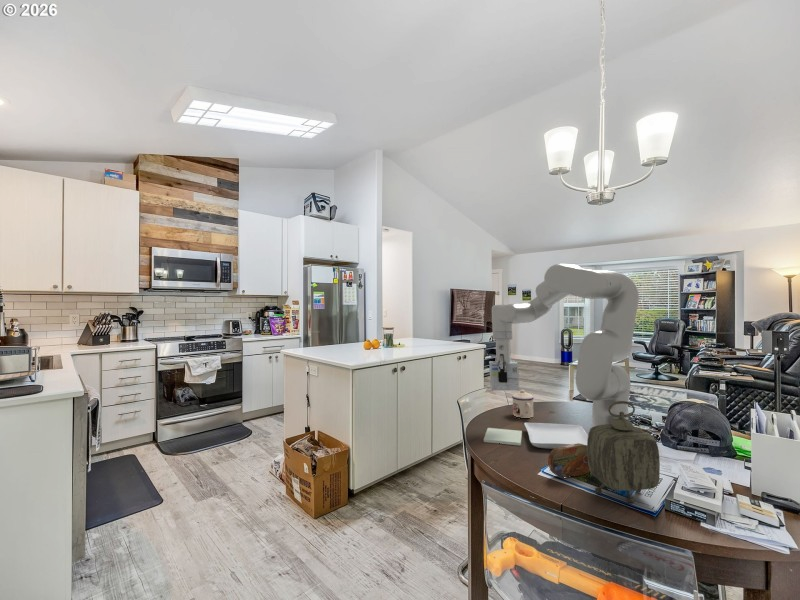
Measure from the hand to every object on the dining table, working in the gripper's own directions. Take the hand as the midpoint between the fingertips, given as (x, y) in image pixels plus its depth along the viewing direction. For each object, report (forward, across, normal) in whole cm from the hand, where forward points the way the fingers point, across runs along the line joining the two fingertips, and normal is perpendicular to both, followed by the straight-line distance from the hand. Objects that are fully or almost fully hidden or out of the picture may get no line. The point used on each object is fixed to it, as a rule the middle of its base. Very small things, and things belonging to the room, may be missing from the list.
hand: (504, 380), depth 149 cm
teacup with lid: (+20, +21, -6) cm, 30 cm away
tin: (+21, -32, -22) cm, 44 cm away
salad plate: (+21, -4, -19) cm, 29 cm away
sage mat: (+20, -7, 0) cm, 21 cm away
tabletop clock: (+21, -42, -33) cm, 58 cm away
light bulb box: (+4, 0, 0) cm, 4 cm away
